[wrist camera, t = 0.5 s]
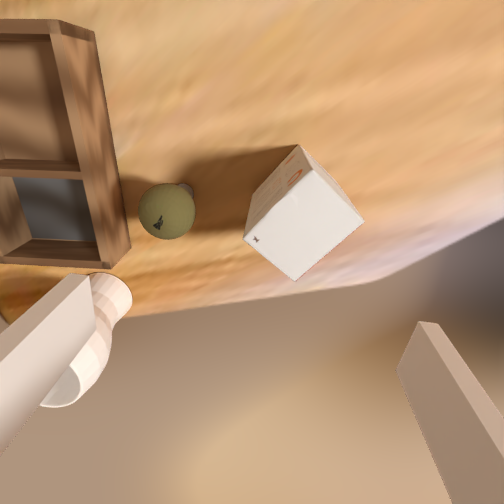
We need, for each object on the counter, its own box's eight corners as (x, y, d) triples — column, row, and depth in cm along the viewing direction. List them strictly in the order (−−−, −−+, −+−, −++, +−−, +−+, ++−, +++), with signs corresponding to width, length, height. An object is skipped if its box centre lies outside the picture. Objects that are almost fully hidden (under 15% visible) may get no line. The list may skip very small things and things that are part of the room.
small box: (288, 227, 39) (293, 284, 28) (250, 194, 38) (239, 239, 26) (338, 180, 36) (367, 222, 25) (299, 142, 35) (311, 167, 23)
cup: (66, 308, 48) (-16, 392, 34) (76, 252, 43) (-15, 323, 30) (133, 332, 49) (79, 422, 36) (150, 280, 44) (95, 361, 31)
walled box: (-40, 29, 32) (-101, 17, 27) (94, 31, 31) (57, 19, 26) (31, 242, 43) (-3, 263, 38) (131, 247, 42) (111, 269, 37)
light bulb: (205, 217, 39) (185, 253, 30) (161, 209, 39) (128, 243, 30) (210, 173, 37) (190, 199, 28) (163, 164, 37) (128, 187, 28)
